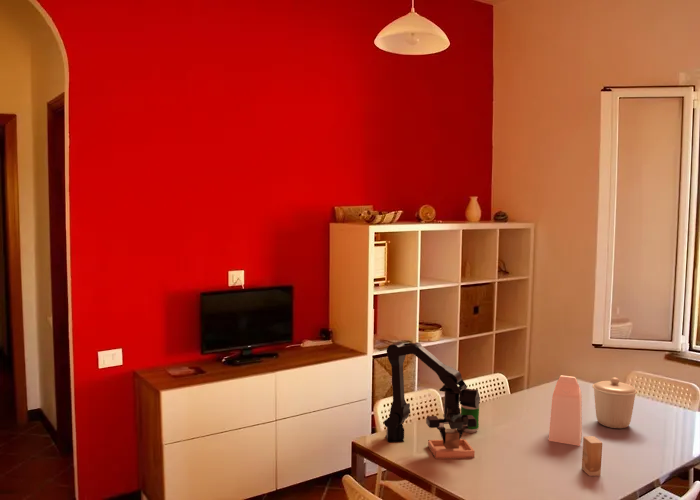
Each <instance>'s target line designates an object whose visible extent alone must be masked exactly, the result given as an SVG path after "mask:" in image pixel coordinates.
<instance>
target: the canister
mask: <svg viewBox="0 0 700 500" xmlns="http://www.w3.org/2000/svg"><path fill="white" fill-rule="evenodd" d="M591 387H592V388H593V394H594V395H593V396H594V404H595V405H594V407H595V408H594V409H595V417H596V420H597V422H598V423H599V424H600V425H602V426H604V427H607V428H610V429H611V428H613V429H625V428H627V427H629V426H630V424H631V421H632V415H633V413H634V411H633V410H634V405H635V399H636V394H637V393H638V390H637V389H636V388H635V387H634V386H633V385H631V384H628V383H627V382H621V381H620V379H619V378H618V377H615V376H614V377H611V378H610V380H602V381H597V382H595V383H593V384H592V386H591Z"/></svg>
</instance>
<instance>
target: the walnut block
mask: <svg viewBox="0 0 700 500" xmlns="http://www.w3.org/2000/svg"><path fill="white" fill-rule="evenodd" d="M443 445H444V446H445V448H446V449H459V432H458V431H457V429H451V428H445V444H444V443H443Z"/></svg>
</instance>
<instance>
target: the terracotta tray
mask: <svg viewBox="0 0 700 500" xmlns="http://www.w3.org/2000/svg"><path fill="white" fill-rule="evenodd" d="M427 447H428V448H429V450H430V451H431V454H432V455H433V457H434V458H435V460H438V459H467V458H471V459H472V458H475V452H476V451H475V450H474V448H473V446H471V445H470V443H469V442H468V441H467V439H466V438H460V440H459V449H446V448H445V446H444V445H443V440H442V439H429V440H428V441H427Z"/></svg>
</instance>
